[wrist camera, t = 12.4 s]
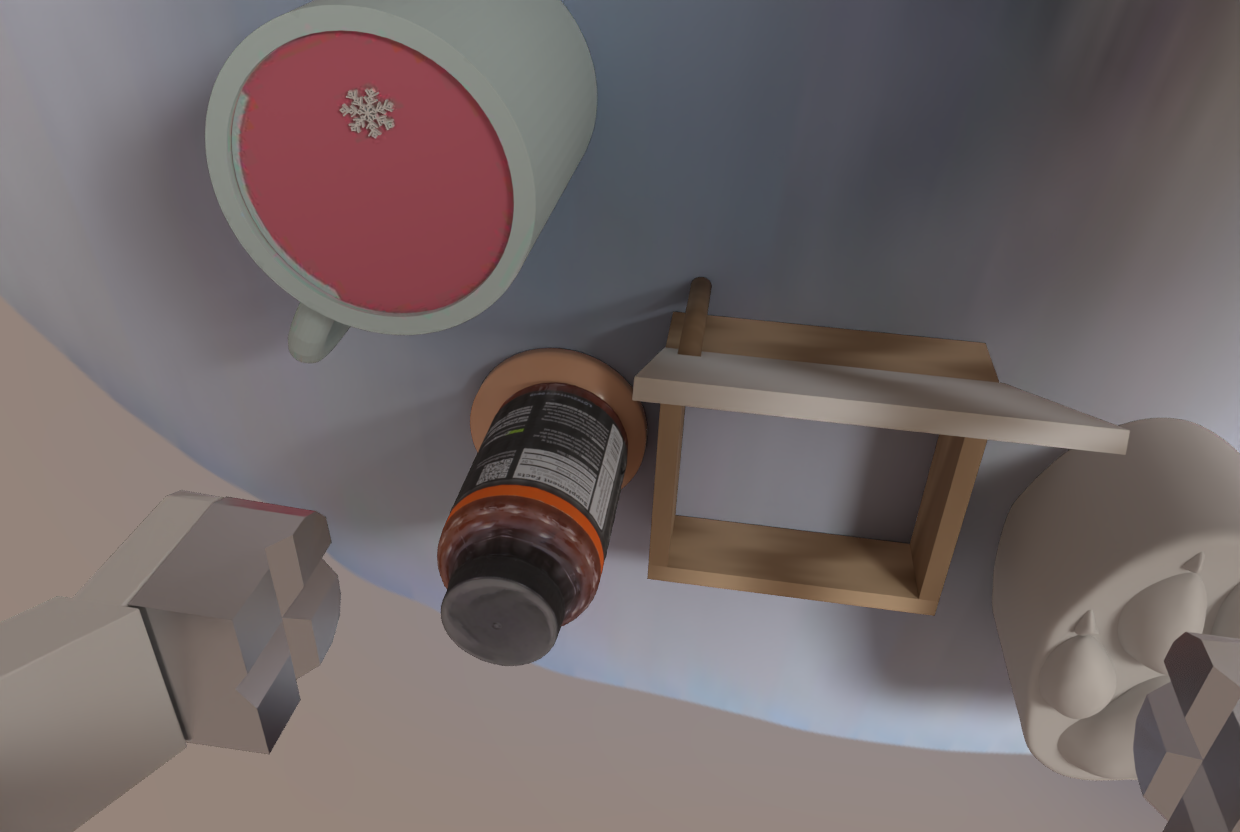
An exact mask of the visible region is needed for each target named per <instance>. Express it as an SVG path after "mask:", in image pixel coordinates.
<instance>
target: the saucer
mask: <svg viewBox="0 0 1240 832" xmlns="http://www.w3.org/2000/svg"><path fill="white" fill-rule="evenodd" d="M551 382H552V383H554V382H558V383H567V384H570V385H576V386H578V387H580V388H583V389H585V390H588V391H590V392H592V393H594V394H595V395H596V396H598V397H600V398H601V399H603V400H604V401H605V402H606V403H607V404H608V405H610V406H611V408H612V409H613V410H614V411H615V413H616V414H617V415H618V417H619V419H620V420H621V422H622V425H623V427H624V429H625V431H626V434H627V439H628V457H627V466H626V470H625V475H624V478H623V483H622V486H621V489H622V488H623V487H625V486H626V485H627V484H628V483H629V482H630V481H631V479H632V478H633V477H634V475H635V474H636V473H637V471H638V469H639V467H640V465H641V462H642V459H643V456H644V452H645V447H646V441H647V420H646V415H645V412H644V409H643V406H642V404H641V402H640V401H634V400H632V396H633V388H632V387H631V386H630V384H629V383H628V382H627V381H626V380H625V379H624V378H623V377H622V376H621V375H620V374H619V373H618V372H617V371H615V370H614V369H613V368H611V367H610V366H608V365H607V364H605V363H603V362H602V361H600V360H598V359H596V358H594V357H591V356H589V355H587V354H584V353H580V352H577V351H573V350H568V349H562V348H540V349H533V350H528V351H524V352H521V353H518V354H516V355H514V356H512V357H510V358H508V359H506V360H504V361H503V362H501V363H500V364H499V365H497V366H496V367H495V368H494V369H493V370H492V371H491V372H490V373H489V375H488V376H487V377H486V378H485V380H484V382H483V383H482V385H481V387H480V389H479V391H478V393H477V395H476V397H475V399H474V402H473V405H472V409H471V415H470V428H471V435H472V439H473V442H474V445H475V448H476V450H477V452H478V451H479V449H480V446H481V444H482V442H483V440H484V438H485V436H486V434H487V431H488V429H489V427H490V425H491V423H492V421H493V419H494V417H495V415H496V414H497V412H498V410H499V409H500V407H501V406H502V404H503V403H504V402H505V401H506V400H507V399H508V398H510V397H511V396H512V395H513V394H515V393H516V392H518V391H520V390H522V389H524V388H526V387H529V386H532V385H535V384H540V383H551Z"/></svg>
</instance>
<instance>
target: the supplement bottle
mask: <svg viewBox="0 0 1240 832" xmlns="http://www.w3.org/2000/svg"><path fill="white" fill-rule="evenodd" d="M627 457H628V439H627V434H626V431H625V429H624V427H623V425H622V422H621V420H620V419H619V417H618V415H617V414H616V413H615V411H614V410H613V409H612V408H611V406H610V405H608V404H607V403H606V402H605V401H604V400H603V399H601V398H600V397H598V396H596V395H595V394H594V393H592V392H590V391H588V390H585V389H583V388H580V387H578V386H576V385H570V384H567V383H558V382H554V383H552V382H551V383H540V384H535V385H532V386H529V387H526V388H524V389H522V390H520V391H518V392H516V393H515V394H513V395H512V396H511V397H510V398H508V399H507V400H506V401H505V402H504V403H503V404H502V406H501V407H500V409H499V410H498V412H497V414H496V415H495V417H494V419H493V421H492V423H491V425H490V427H489V429H488V431H487V434H486V436H485V438H484V440H483V442H482V444H481V446H480V449H479V451H478V453H477V455H476V457H475V460H474V462H473V464H472V466H471V468H470V471H469V473H468V475H467V477H466V479H465V481H464V483H463V486H462V488H461V490H460V492H459V495H458V497H457V499H456V501H455V503H454V505H453V507H452V509H451V512H450V515H449V517H448V519H447V521H446V523H445V526H444V528H443V530H442V534H441V537H440V540H439V544H438V552H437V560H438V569H439V572H440V576H441V578H442V581H443V583H444V586H445V587H446V589H447V592H446V594H445V596H444V599H443V602H442V605H441V619H442V623H443V625H444V628H445V630H446V632H447V634H448V635H449V637H450V638H451V639H452V640H453V641H454V642H455V643H456V644H457V646H458V647H460V648H461V649H462V650H464V651H465V652H467V653H469V654H470V655H472V656H474V657H476V658H478V659H480V660H482V661H486V662H489V663H493V664H498V665H502V666H517V665H524V664H528V663H531V662H534V661H536V660H538V659H540V658H542V657H543V656H545V655H546V654H547V653H548V652H549V651H550V650H551V648H552V647H553V646H554V644H555V641H556V639H557V636H558V633H559V631H560V628H561V626H564V625H565V624H568V623H569V622H571V621H573V620H574V619H576V618H577V617H578V616H579V615H580V614H581V613H582V612H583V611H584V610H585V609H586V608H587V607H588V606H589V604H590V603H591V601H592V600H593V598H594V596H595V595H596V591H597V589H598V585H599V582H600V577H601V574H602V570H603V565H604V560H605V558H606V554H607V549H608V545H609V539H610V536H611V531H612V526H613V523H614V519H615V513H616V508H617V504H618V500H619V496H620V492H621V486H622V483H623V478H624V475H625V470H626V466H627Z"/></svg>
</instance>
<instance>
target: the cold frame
mask: <svg viewBox="0 0 1240 832" xmlns="http://www.w3.org/2000/svg"><path fill="white" fill-rule="evenodd" d="M710 294H711V283H710V281H709V280H708V279H707V278H704V277H698V278H695V279H694V280H693V281H692V283H691V287H690V292H689V297H688V302H687V307H686V313H682V312H673V315H672V320H671V324H670V329H669V334H668V338H667V343H666V347H665V348H664V349H663V350H661V351H660V352H659V353H658V354H657V355H656V356H655V357H654V358H653V359H652V360H651V361H650V362H649V363H648V364H647V365H646V366H645V367H644V368H643V369H642V370H641V371H640V372H639V373H638V374H637V375H636V376H635V377H634V386H633V396H632V400H634V401H643V402H652V403H660V414H659V428H658V441H657V455H656V469H655V483H654V496H653V510H652V524H651V537H650V551H649V565H648V578H647V579H654V580H661V581H669V582H677V583H685V584H692V585H700V586H708V587H716V588H723V589H731V590H739V591H747V592H754V593H762V594H770V595H777V596H785V597H793V598H801V599H808V600H816V601H824V602H832V603H839V604H847V605H855V606H863V607H870V608H878V609H886V610H894V611H901V612H909V613H917V614H925V615H932V616H934V615H935V612H936V609H937V605H938V602H939V599H940V596H941V592H942V589H943V586H944V582H945V579H946V576H947V572H948V569H949V566H950V562H951V559H952V556H953V552H954V549H955V546H956V542H957V539H958V536H959V533H960V529H961V526H962V523H963V519H964V516H965V513H966V509H967V506H968V503H969V499H970V496H971V493H972V489H973V486H974V483H975V479H976V476H977V473H978V470H979V466H980V463H981V460H982V456H983V453H984V450H985V446H986V443H987V440H996V441H1005V442H1014V443H1023V444H1032V445H1041V446H1050V447H1059V448H1068V449H1077V450H1086V451H1095V452H1104V453H1113V454H1122V455H1126V450H1127V444H1128V439H1129V433H1130V430H1128V429H1125V428H1122V427H1120V426H1117V425H1114V424H1111V423H1109V422H1106V421H1103V420H1101V419H1098V418H1095V417H1093V416H1090V415H1087V414H1085V413H1082V412H1079V411H1077V410H1074V409H1071V408H1069V407H1066V406H1063V405H1061V404H1058V403H1055V402H1053V401H1050V400H1047V399H1045V398H1042V397H1039V396H1037V395H1034V394H1031V393H1029V392H1026V391H1023V390H1021V389H1018V388H1015V387H1013V386H1010V385H1007V384H1005V383H999V380H998V377H997V374H996V372H995V369H994V366H993V363H992V360H991V357H990V355H989V352H988V349H987V346H986V343H979V342H969V341H959V340H949V339H939V338H929V337H919V336H909V335H899V334H890V333H880V332H870V331H860V330H850V329H840V328H830V327H820V326H810V325H801V324H791V323H781V322H771V321H761V320H751V319H741V318H731V317H721V316H712V315H707V313H708V307H709V300H710ZM685 406H689V407H698V408H707V409H716V410H725V411H734V412H743V413H752V414H761V415H770V416H779V417H788V418H797V419H806V420H815V421H824V422H833V423H842V424H851V425H860V426H869V427H878V428H887V429H896V430H905V431H914V432H923V433H932V434H939V437H938V440H937V444H936V448H935V452H934V455H933V459H932V463H931V467H930V470H929V474H928V478H927V482H926V485H925V489H924V493H923V497H922V500H921V504H920V508H919V512H918V515H917V519H916V523H915V527H914V530H913V534H912V538H911V541H910V544H907V543H899V542H891V541H882V540H874V539H866V538H858V537H850V536H842V535H833V534H825V533H817V532H809V531H801V530H792V529H784V528H776V527H768V526H760V525H752V524H743V523H735V522H727V521H719V520H711V519H702V518H694V517H686V516H678V515H675V514H676V502H677V491H678V480H679V469H680V458H681V447H682V436H683V425H684V414H685Z"/></svg>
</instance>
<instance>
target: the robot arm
mask: <svg viewBox="0 0 1240 832" xmlns="http://www.w3.org/2000/svg"><path fill="white" fill-rule="evenodd" d="M330 544H331V537H330V533H329V529H328V524H327V520H326V517H325V516H323V515H321V514H320V513H318V512H316V511H311V510H305V509H299V508H293V507H287V506H281V505H275V504H269V503H263V502H256V501H250V500H244V499H238V498H232V497H225V498H224V497H219V496H212V495H206V494H201V493H195V492H190V491H183V490H180V491H178V492H175V493H173V494H170V495H167V496H166V497H165V498H164V499H163V500H162V501H161V502H160V503H159V504H158V505H157V506H156V507H155V509H154V510H153V511H152V512H151V513H150V514H149V515H148V516H147V517H146V518H145V519H144V520H143V522H142V523H141V524H140V525H139V526H138V527H137V528H136V529H135V530H134V532H133V533H132V534H131V535H130V536H129V537H128V538H127V539H126V540H125V541H124V542H123V543H122V544H121V546H120V547H119V548H118V549H117V550H116V551H115V552H114V553H113V554H112V555H111V556H110V557H109V559H108V560H107V561H106V562H105V563H104V564H103V565H102V566H101V567H100V568H99V569H98V571H97V572H96V573H95V574H94V575H93V576H92V577H91V578H90V579H89V580H88V581H87V583H86V584H85V585H84V586H83V587H82V588H81V589H80V590H79V591H78V592H77V594H76V595H75V596H74V597H73V598H68V597H60V596H57V597H55V598H52V599H50V600H48V601H46V602H44V603H42V604H39V605H37V606H35V607H33V608H31V609H29V610H26V611H24V612H22V613H20V614H18V615H16V616H13V617H11V618H9V619H7V620H5V621H2V622H0V832H73V831H75V830H76V829H77V828H79V827H80V826H81V825H83V824H84V823H85V822H87V821H88V820H89V819H91V818H92V817H94V816H95V815H96V814H98V813H99V812H100V811H102V810H103V809H104V808H106V807H107V806H108V805H110V804H111V803H112V802H113V801H115V800H116V799H118V798H119V797H121V796H122V795H123V794H125V793H126V792H127V791H129V790H130V789H131V788H133V787H134V786H135V785H137V784H138V783H139V782H141V781H142V780H143V779H145V778H146V777H148V776H149V775H150V774H151V773H153V772H154V771H155V770H157V769H158V768H160V767H161V766H162V765H164V764H165V763H166V762H168V761H169V760H170V759H172V758H173V757H175V756H176V755H177V754H178V753H180V752H181V751H183V750H184V749H185V748H186V747H187V745H186V742H187V743H194V744H202V745H208V746H215V747H222V748H229V749H236V750H243V751H249V752H256V753H264V754H270V752H271V751H272V749H273V747H274V745H275V744H276V742H277V740H278V738H279V737H280V735H281V733H282V731H283V730H284V728H285V726H286V724H287V723H288V721H289V719H290V717H291V716H292V714H293V712H294V710H295V709H296V707H297V705H298V703H299V702H300V700H301V699H300V695H299V690H298V686H297V682H296V680H297V679H298V678H300V677H301V676H303V675H304V674H306V673H308V672H309V671H311V670H313V669H314V668H316V667H318V666H319V665H320V664H321V663H322V661H323V659H324V657H325V655H326V653H327V651H328V650H329V648H330V646H331V644H332V642H333V638H334V635H335V631H336V627H337V624H338V620H339V616H340V600H341V592H340V586H339V580H338V575H337V574H336V573H335V572H334V571H333V570H332V568H330V566H329V565H328V564H327V563H326V562H325V561H324V560H323V559H322V557H323V555H324V554H325V552H326V550H327V549H328V547H329V546H330ZM1164 664H1165V667H1166V669H1167V672H1168V675H1169V677H1170V680H1171V682H1169V683H1167V684H1165V685H1163V686H1161V687H1160V688H1158V689H1156V690H1154V691H1152V692H1150V693H1148V694H1147V695H1146V698H1145V700H1144V702H1143V705H1142V707H1141V709H1140V711H1139V714H1138V716H1137V718H1136V724H1135V733H1134V743H1133V754H1134V762H1135V771H1136V775H1137V778H1138V781H1139V785H1140V788H1141V792H1142V795H1143V797H1144V798H1145V799H1146V800H1147V801H1148V802H1149V803H1150V804H1151V805H1152V806H1153V807H1154V808H1155V809H1156V810H1157V811H1158V812H1159V813H1160V814H1161V815H1162V816H1163V817H1164V818H1165V819H1166V820H1167V821H1168V823H1167V825H1166V826H1165V828H1164V830H1163V832H1240V639H1238V638H1231V637H1223V636H1216V635H1208V634H1200V633H1193V632H1184V633H1183V634H1182V635H1181V636H1180V637H1178V638H1177V639H1176V640H1175V641H1174V642H1173V643H1172V645H1171V647H1170V649H1169V651H1168V653H1167V655H1166V657H1165V659H1164Z"/></svg>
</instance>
